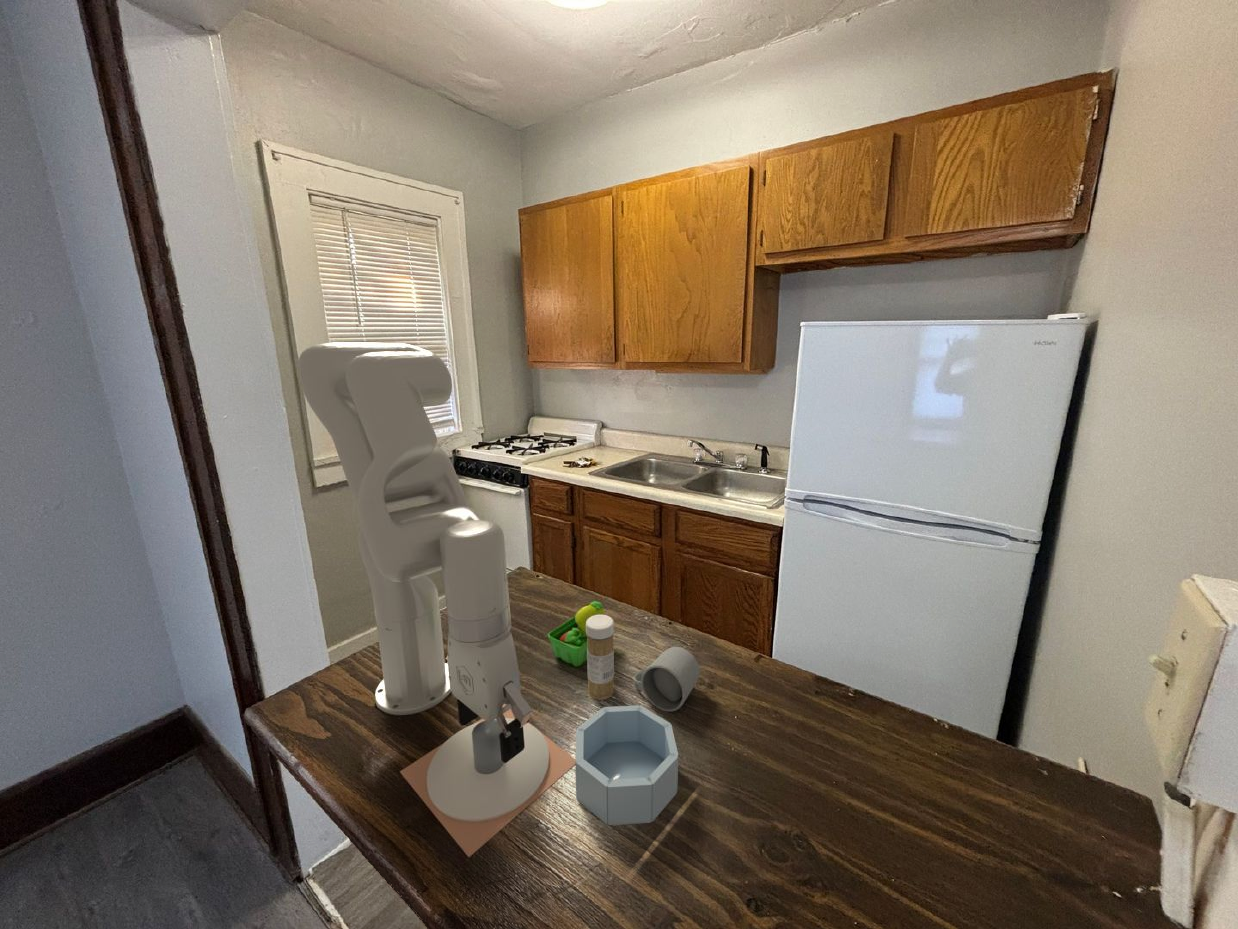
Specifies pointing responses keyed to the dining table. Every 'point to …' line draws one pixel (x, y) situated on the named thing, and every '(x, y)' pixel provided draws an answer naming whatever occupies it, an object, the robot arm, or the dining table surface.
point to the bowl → (626, 764)
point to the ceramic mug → (669, 678)
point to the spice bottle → (600, 656)
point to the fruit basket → (574, 635)
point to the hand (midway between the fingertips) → (491, 736)
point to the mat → (481, 832)
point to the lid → (485, 773)
